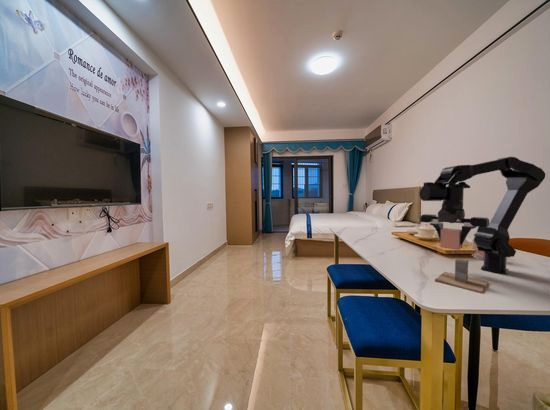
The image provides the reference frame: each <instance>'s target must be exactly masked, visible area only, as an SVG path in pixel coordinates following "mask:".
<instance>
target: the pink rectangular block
mask: <svg viewBox="0 0 550 410" xmlns="http://www.w3.org/2000/svg"><path fill="white" fill-rule="evenodd" d="M461 233H462V229H459V228H449V227H443V229H441V241H440V240H439V241H440V243H439V245H440V246H439V247H440V248H443V249H451V250H456V251H457V250H458V251H459V250H461V249H463V244H462V245H460V239H461Z"/></svg>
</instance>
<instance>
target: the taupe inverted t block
mask: <svg viewBox="0 0 550 410" xmlns="http://www.w3.org/2000/svg"><path fill="white" fill-rule="evenodd" d="M454 263H455V264H454V265H455V266H454V268H455V269H454V273H452V272H447V271H444V272H443V273H441V274H440V275H439V276H438V277H435V278H434V282H437V283H442V284H445V285H449V286H451V287H452V286H453V287H456V288H461V289H464V290H468V291H473V292H476V293H480V294H482V293H483V292H484V291H485V289H486V288H487V286H488V285H489V281H488V280H483V279H479V278H473V277H470V276H468V275H469V260H467V259H462V258H456V259H455V260H454Z"/></svg>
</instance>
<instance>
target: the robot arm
mask: <svg viewBox="0 0 550 410" xmlns="http://www.w3.org/2000/svg"><path fill="white" fill-rule="evenodd" d="M497 171H500V174H501V176H502V177H504V178H505V179H506V180H505V185H506V189H507V191H505V194H504V195H503V197H502V199H501V201H500V203H499V205H498V207H497V209H496V211H495V212H494V214H493V217H492V218H491V220H490V219H489V218H488V217H483V216H482V217H481V216H480V217H479V216H472V217H470V218H465V216H466V213H465V209H464V189H470V188H471V186H470V185H469V184H467V182H466V181H467V180H470V179H471V178H473V177H475V176H478V175H483V174H486V173H492V172H497ZM545 178H546V172H545V171H544V170H543V168H541V167H539V166H537V165H535V164H533V163H531V162H527V161H524V160H520V159H519V158H518V157H515V156H507V157H506V156H505V157H501V158H497V159H494V160H490V161H486V162H485V161H484V162H480V163H476V164H459V165H458V164H457V165H454V166H447V167H444V168H442V170H441V172H440V175H438V177H437V178H436V179H435V181H434V182H431V181H430V182H429V181H428V182H423V185H422V186H421V188H420V190H419V198H420V200H421V201H422V202H442V204H441V209H439V211H438V212H437V214H431V213H429V214H427V213H426V214H421V215H420V217H419V222H420V223H429V225H430V226H432V227H433V228H434V229H435V231H436V232H437V235H438V237H439V241H441V229H444V223H449V224H463V225H462V226H461V230H462V233H461V239H460V245H462V246H463V244H464V242H465V240H466V239H467V236H468V234H469V233H470V232H471V231H472V230H473V229H476V228H477V231H476V232H475V233H474V234H473V236H475V237H473V239H474V241H475V244H476V245H477V248H478V250H479V251H483V252H484V261H483V265H482V266H481V267H480V270H483V271H487V272H493V273H498V274H503V275H508V272H509V268H507V259H508V258H512V257H515V255H516V253H517V250H516V249H515V248H514V247H513V246H511V244H510V243H509V241H510V239H511V238H510V233H509V228H510V226H511V224H512V222H513V221H514V219H515V216H517V213H518V212H519V210H520V208H521V206H522V204H523V202H524V201H525V199H526V196H528V194H529V193H530V192H532V191H534V190H535V189H537V188H538V187H540V185H541V184H542V182H543V181H544V180H545Z"/></svg>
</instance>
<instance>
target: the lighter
mask: <svg viewBox="0 0 550 410" xmlns="http://www.w3.org/2000/svg"><path fill="white" fill-rule="evenodd" d="M473 236H474V235H473ZM474 238H475V236H474V237H473V239H472V240H471V241H472V250H473V249H475V250H476V253H474V254H472V253H471V257H472V256H473V257H472V258H475V259H477V260H480V261H483V262H484V252H483V251H479V250H478V248H477V245H476V244H475V241H474Z"/></svg>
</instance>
